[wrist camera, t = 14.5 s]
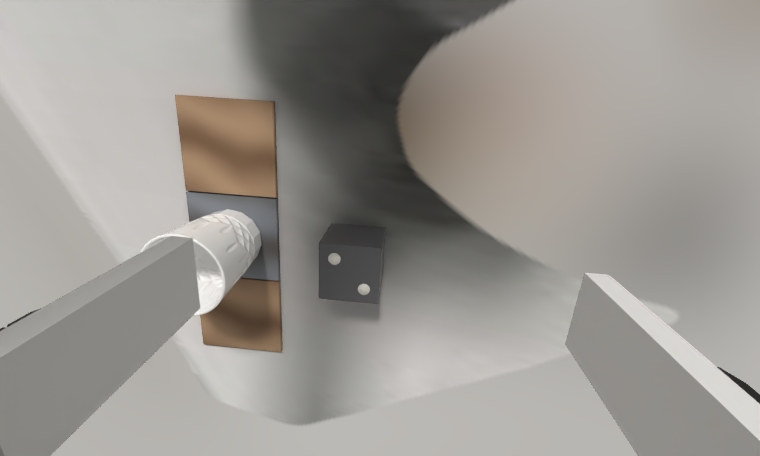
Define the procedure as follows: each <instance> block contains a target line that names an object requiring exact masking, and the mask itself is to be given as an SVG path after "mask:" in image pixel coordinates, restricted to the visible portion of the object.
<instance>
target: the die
mask: <svg viewBox="0 0 760 456" xmlns="http://www.w3.org/2000/svg"><path fill="white" fill-rule="evenodd" d="M385 231H386V228H378V227H366V226H354V225H343V224H331V225H330V227H329V229H328V230H327V232H326V233H325V235H324V236H323V238H322V239H321V241H320V243H319V298H321V299H331V300H342V301H352V302H363V303H374V304H378V301H379V295H380V288H381V281H382V272H383V258H384V244H385Z"/></svg>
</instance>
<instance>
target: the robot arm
mask: <svg viewBox="0 0 760 456" xmlns="http://www.w3.org/2000/svg"><path fill="white" fill-rule="evenodd" d="M199 309H200V300H199V291H198V282H197V273H196V264H195V255H194V246H193V238H188V237H176V236H170V237H168V238H166V239H165V240H163V241H161V242H159V243H158V244H156V245H154V246H152V247H150V248H149V249H147V250H145V251H143V252H141V253H140V254H138V255H136V256H134V257H132V258H131V259H129V260H127V261H125V262H123V263H122V264H120V265H118V266H116V267H115V268H113V269H111V270H109V271H108V272H106V273H104V274H102V275H100V276H98V277H97V278H95V279H93V280H91V281H89V282H88V283H86V284H84V285H82V286H80V287H79V288H77V289H75V290H74V291H72V292H70V293H68V294H66V295H64V296H62V297H61V298H59V299H57V300H55V301H54V302H52V303H50V304H48V305H46V306H45V307H43V308H41V309H38V310H35V311H33V312H30V313H28V314H26V315H25V316H23V317H21V318H19V319H17V320H16V321H14V322H12V323H10V324H8V326H7V328H1V329H0V456H50V455H51V454H52V453H53V452H55V450H56V449H57V448H59V447H60V446H61V444H63V443H64V442H65V441H66V440H67V439H68V438H69V437H70V436H71V435H72V434H73V433H74V432H75V431H76V430H77V429H78V428H79V427H80V426H81V425H82V424H83V423H84V422H85V421H86V420H87V419H88V418H89V417H90V416H91V415H92V414H93V413H94V412H95V411H96V410H97V409H98V408H99V407H100V406H101V405H102V404H103V403H104V402H105V401H106V400H107V399H108V398H109V397H110V396H111V395H112V394H113V393H114V392H115V391H117V390H118V389H119V387H121V386H122V385H123V384H124V383H125V382H126V381H127V380H128V379H129V378H130V377H131V376H132V375H133V374H134V373H135V372H136V371H137V370H138V369H139V368H140V367H141V366H142V365H143V364H144V363H145V362H146V361H147V360H148V359H149V358H150V357H151V356H152V355H153V354H154V353H155V352H156V351H157V350H158V349H159V348H160V347H161V346H162V345H163V344H164V343H165V342H166V341H167V340H168V339H169V338H170V337H171V336H173V335H174V334H175V333H176V332H177V331H178V330H179V329H180V328H181V327H182V326H183V325H184V324H185V323H186V322H187V321H188V320H189V319H190V318H191V317H192V316H193V315H194V314H195V313H196V312H197V311H198V310H199ZM565 345H566V346H567V348H568V349H569V351H570V352H571V354H572V355H573V357H574V358H575V360H576V361H577V363H578V365H579V366H580V368H581V369H582V371H583V372H584V374H585V375H586V377H587V378H588V380H589V381H590V383H591V385H592V386H593V388H594V389H595V391H596V392H597V394H598V395H599V397H600V398H601V400H602V401H603V403H604V404H605V406H606V408H607V409H608V411H609V412H610V414H611V415H612V417H613V418H614V420H615V421H616V423H617V424H618V426H619V427H620V429H621V431H622V432H623V433H624V435H625V437H626V438H627V440H628V441H629V443H630V444H631V446H632V447H633V449H634V450H635V452H636V453H637V455H638V456H760V395H759V394H758V393H757V392H756V391H755V390H754V389H752V388H751V387H750V386H749V385H748V384H746V383H744V382H743V381H741V380H740V379H738V378H736V377H734V376H733V375H731V374H729V373H728V372H726V371H724V370H723V369H721V368H719V367H716V366H715V365H714V364H713V363H711V362H710V361H709V360H708V359H707V358H705V357H704V356H703V355H702V354H701V353H700V352H698V351H697V350H696V349H695V348H694V347H692V346H691V345H690V344H689V343H688V342H687V341H686V340H684V339H683V338H682V337H681V336H680V335H679V334H677V333H676V332H675V331H674V330H672V329H671V328H670V327H669V326H668V325H667V324H666V323H665V322H663V321H662V320H661V319H660V318H659V317H657V316H656V315H655V314H654V313H653V312H652V311H650V310H649V309H648V308H647V307H646V306H645V305H643V304H642V303H641V302H640V301H639V300H638V299H636V298H635V297H634V296H633V295H632V294H631V293H629V292H628V291H627V290H626V289H625V288H623V287H622V286H621V285H620V284H619V283H618V282H617V281H615V280H614V279H613V278H612V277H611V276H610V275H604V274H593V273H584V277H583V281H582V284H581V288H580V291H579V295H578V299H577V302H576V306H575V310H574V313H573V317H572V321H571V324H570V328H569V331H568V335H567V339H566V342H565Z"/></svg>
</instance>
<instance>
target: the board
mask: <svg viewBox="0 0 760 456" xmlns="http://www.w3.org/2000/svg"><path fill="white" fill-rule="evenodd" d="M175 99H176V108H177V116H178V125H179V134H180V143H181V151H182V160H183V169H184V178H185V186H186V191H188V192H186V195H187V204H188V212H189V221H190V222H191V221H194V220H196V219H199V218H201V217H204V216H206V215H210V214H212V213H214V212H217V211H221V210H226V209H230V210H235V211H239V212H242V213H243V214H245V215H246V216H248V217H249V218H250V219H252V220H253V221H254V223H255V224H256V226H257V228H258V229H259V231H260V235H261V243H262V245H261V248H260V251H259V253H258V256H257V257H256V258H255V259H254V261H253V262H252V263H251V264H250V266H249V267H248V269H247V270H246V272H245V273H244V274H243V275H242V277H241V278H240V279H239V280H238V282H237V283H236V284H235V285H234V286H233V287H232V289H231V290H230V291H229V292H228V293H227V294H226V296H225V297H224V298H223V299H222V301H221V302H220V303H219V304H218V305H217V306H216V307H215V308H214V309H213V310H211V311H210V312H208V313H205V314H202V315H200V317H201V326H202V335H203V343H204V344H206V345H216V346H226V347H235V348H245V349H255V350H265V351H275V352H281V351H282V326H281V293H280V260H279V228H278V198H276V197H278V195H277V162H276V129H275V102H273V101H259V100H244V99H229V98H214V97H199V96H184V95H175ZM192 191H199V192H192ZM205 192H211V193H205ZM217 193H224V194H217ZM229 194H236V195H229ZM242 195H248V196H242ZM254 196H261V197H254ZM267 197H273V198H267Z"/></svg>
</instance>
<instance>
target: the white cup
mask: <svg viewBox="0 0 760 456" xmlns="http://www.w3.org/2000/svg"><path fill="white" fill-rule="evenodd" d="M170 236H176V237H188V238H193V246H194V255H195V264H196V273H197V282H198V291H199V300H200V309H199V310H198V311H197V312H196V313H195V314H194V315H193V316H198V315H202V314H205V313H208V312H210V311H211V310H213V309H214V308H215V307H216V306H217V305H218V304H219V303H220V302H221V301H222V299H223V298H224V297H225V296H226V294H227V293H228V292H229V291H230V290H231V289H232V287H233V286H234V285H235V284H236V283H237V282H238V280H239V279H240V278H241V277H242V275H243V274H244V273H245V272H246V270H247V269H248V267H249V266H250V264H251V263H252V262H253V261H254V259H255V258H256V257H257V256H258V253H259V251H260V248H261V245H262V243H261V235H260V231H259V229H258V228H257V226H256V224H255V223H254V221H253V220H252V219H250V218H249V217H248V216H246V215H245V214H243V213H242V212H239V211H235V210H230V209H226V210H221V211H217V212H214V213H212V214H210V215H206V216H204V217H201V218H199V219H196V220H194V221H191V222H189V223H186V224H184V225H182V226H180V227H178V228H175V229H173V230H171V231H169V232H167V233H164V234H162V235H160V236H158V237H155V238H153V239H152V240H150V241H149V242H148V243H147V244H146V245H145V246H144V247H143V248H142V250H141V252H143V251H145V250H147V249H149V248H150V247H152V246H154V245H156V244H158V243H159V242H161V241H163V240H165V239H166V238H168V237H170ZM141 252H140V253H141Z"/></svg>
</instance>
